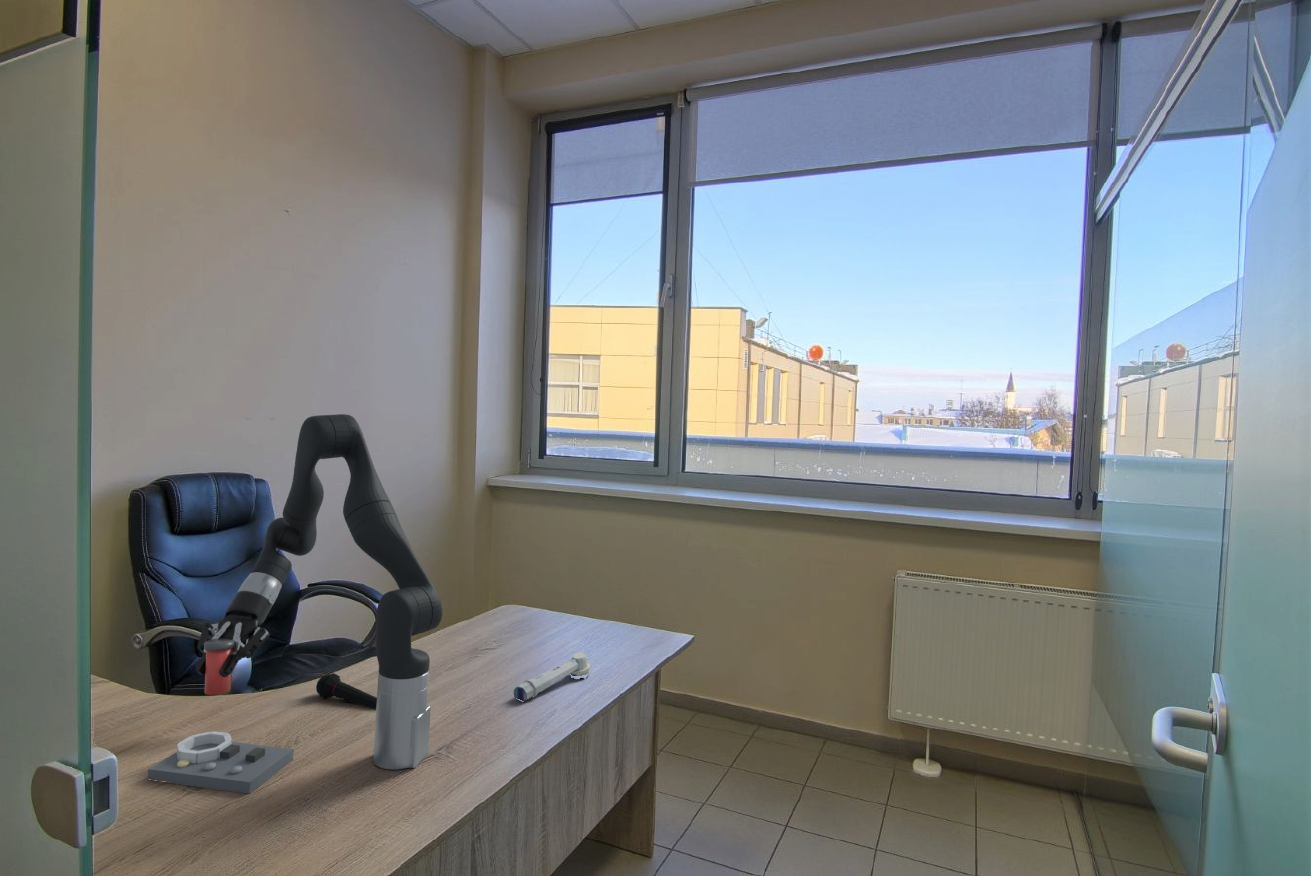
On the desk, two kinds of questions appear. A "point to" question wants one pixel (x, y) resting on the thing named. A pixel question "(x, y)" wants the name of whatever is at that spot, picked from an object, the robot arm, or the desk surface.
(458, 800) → the desk surface
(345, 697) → the microphone
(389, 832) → the desk surface
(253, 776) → the grey control panel
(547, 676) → the toothbrush head
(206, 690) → the cap
